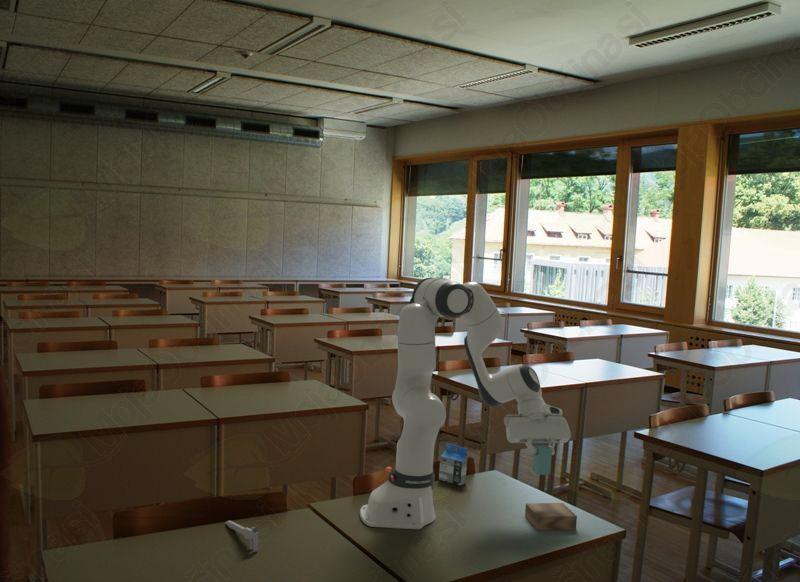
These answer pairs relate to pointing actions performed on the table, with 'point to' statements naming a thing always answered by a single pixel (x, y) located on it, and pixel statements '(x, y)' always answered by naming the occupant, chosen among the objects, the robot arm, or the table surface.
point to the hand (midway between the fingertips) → (543, 454)
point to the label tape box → (453, 465)
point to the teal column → (542, 460)
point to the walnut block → (550, 516)
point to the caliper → (246, 534)
